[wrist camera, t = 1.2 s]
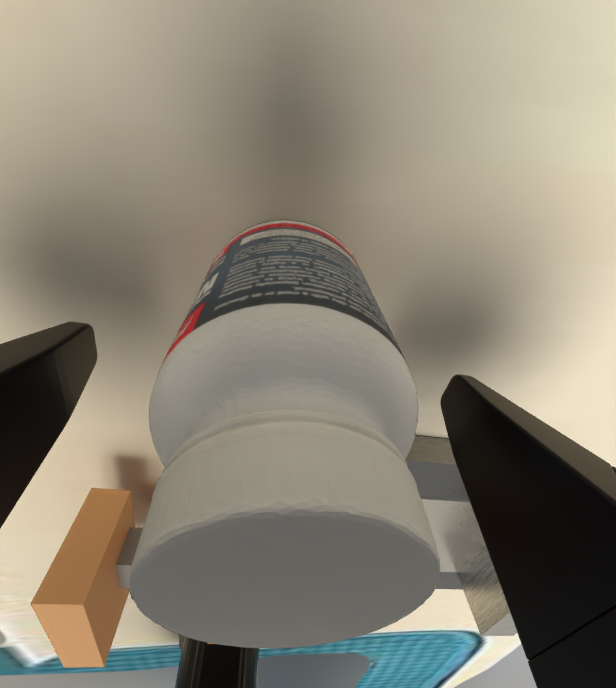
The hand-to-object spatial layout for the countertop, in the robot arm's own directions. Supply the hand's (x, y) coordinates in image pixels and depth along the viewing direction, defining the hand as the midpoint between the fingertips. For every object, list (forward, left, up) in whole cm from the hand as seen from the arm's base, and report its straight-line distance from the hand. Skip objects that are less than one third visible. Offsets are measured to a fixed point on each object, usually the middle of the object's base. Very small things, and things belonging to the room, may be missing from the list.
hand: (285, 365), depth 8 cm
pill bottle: (0, 0, -4) cm, 4 cm away
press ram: (-12, +3, -2) cm, 12 cm away
